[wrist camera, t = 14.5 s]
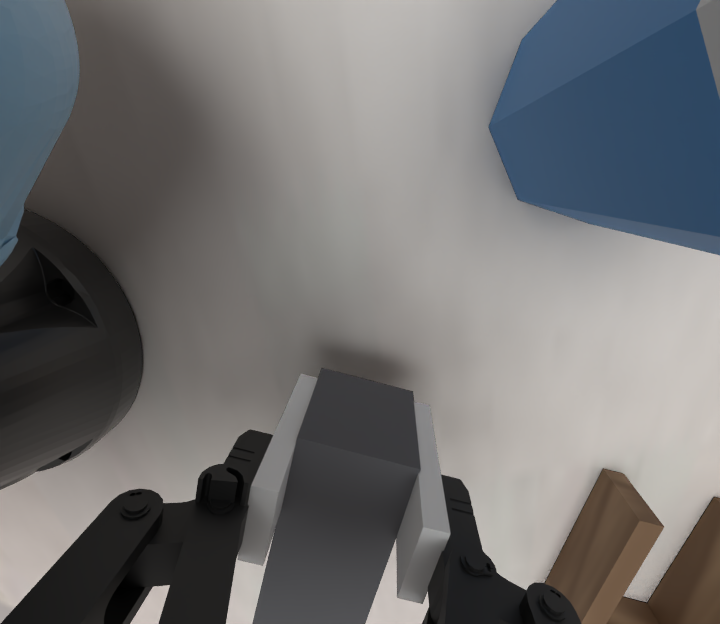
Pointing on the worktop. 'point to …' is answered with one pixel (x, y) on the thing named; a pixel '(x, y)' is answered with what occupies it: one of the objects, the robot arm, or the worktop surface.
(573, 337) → the worktop surface
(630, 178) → the blue water bottle
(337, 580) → the tall gray prism
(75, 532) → the worktop surface
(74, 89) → the robot arm
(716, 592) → the bronze desk organizer
